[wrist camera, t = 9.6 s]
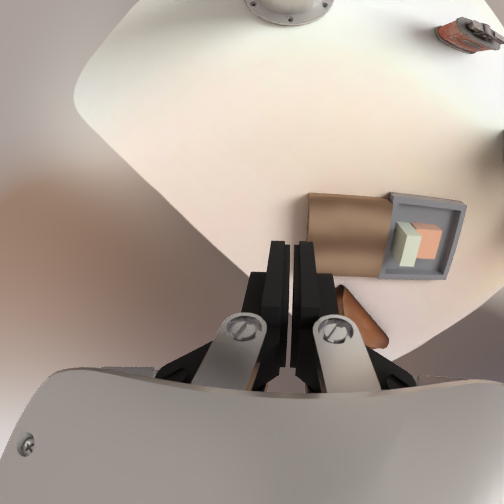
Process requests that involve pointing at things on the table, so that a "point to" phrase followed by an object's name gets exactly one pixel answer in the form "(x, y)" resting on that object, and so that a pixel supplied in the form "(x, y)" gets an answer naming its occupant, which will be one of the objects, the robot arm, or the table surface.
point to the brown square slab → (348, 233)
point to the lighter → (469, 36)
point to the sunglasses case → (360, 319)
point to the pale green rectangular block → (405, 244)
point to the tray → (428, 212)
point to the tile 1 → (428, 239)
